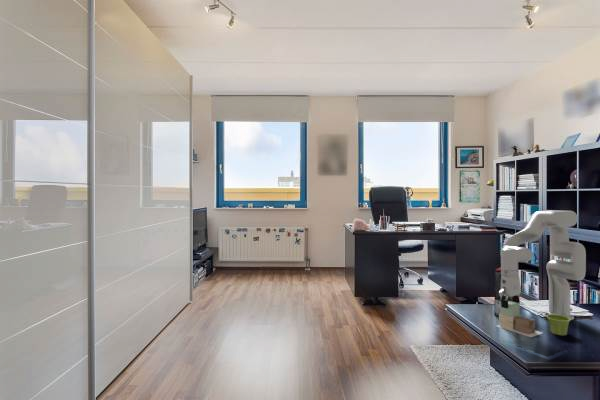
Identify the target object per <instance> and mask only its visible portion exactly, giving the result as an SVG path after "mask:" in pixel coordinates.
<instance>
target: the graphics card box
mask: <svg viewBox="0 0 600 400" xmlns="http://www.w3.org/2000/svg"><path fill="white" fill-rule="evenodd" d="M501 276H502V275H501V266H500V267H498V268H496V269H495V270H494V309H493V310H494V311H493V314H494V315H493V316H494V317H498V318H499V314H500V313H501V304H500V302H501V299H500V296H499V291H500V290H501ZM504 297H506V296H504ZM507 301H511V302H513V296H512V297H508V299H507Z"/></svg>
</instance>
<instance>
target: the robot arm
mask: <svg viewBox="0 0 600 400" xmlns="http://www.w3.org/2000/svg"><path fill="white" fill-rule="evenodd" d="M578 220H579V219H578V215H577V213H576V212H575V211H573V210H556V209H553V210H552V209H546V210H538V211H535V212H534V213H533V214H532V215H531V217H530V218H529V219H528V221H527V223H526V225H525V226H524V228H523V229H522V230H519V231H518V232H515V233H514V234H513V235H511V236H510V237H508V238H507V240H506V241H505V242H504V243H503V245H502V248H501V250H500V267H501V275H502V276H501V290H500V291H499V296H500V299H501V307H503V308H508V301H507V299H508V297H512V296H513V302H515V303H519V306H520V302H521V301H520V297H521V294H522V291H521V289H522V287H521V280H520V276H519V263H528V262H530V261H531V260H532V259H533V256H534V253H533V252H532V250H531V249H530V248H528V247H525V246H524V247H523V246H520V245H523V244H526V243H527V244H528V243H532V242H535V241H538V240H540V239H541V237H542V236H543V235H544V232H545V231H546V230H547V229H548V231H549V252H550V255H551V256H552V257H554V258H559V259H551V260H549V261H548V262H547V263H546V265H545V266H546V272H547V273H546V274H547V277H548V278H547V279H548V311H549V312H550V313H551V314H555V315H562V316H566V317H568V318H570V319H571V320H570V321H572V320H575V317H574V315H573V314H571V312H573V308H571V285H570V284H569V281H568V280H571V281H579V282H580V281H582V280H583V279H585V277H586V272H587V263H586V262H587V258H586V257H587V254H586V253H587V251H586V248H585V246H584V245H583V244H582V243H580V242H576V241H570V233H569V230H568V229H567V228H570V227H573V226H575V225H576V224H577V223H578ZM560 259H561V260H560ZM562 259H566V260H562ZM567 260H571V261H567ZM504 296H506V297H504Z"/></svg>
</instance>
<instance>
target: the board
mask: <svg viewBox="0 0 600 400" xmlns="http://www.w3.org/2000/svg"><path fill="white" fill-rule="evenodd" d="M496 327H497V328H501V329H504V330H507V331H510V332H514V333H517V334H519V335H523V336H526V337H529V338H533V337H535V336H539V335H541V334H544V332H543V331H538V330H536V329H535V332H534V333H531V334H525V333H522V332H519V331H516V330H515V329H514V330H512V329H509V328H505V327H502V326H499V324H498V325H496Z"/></svg>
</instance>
